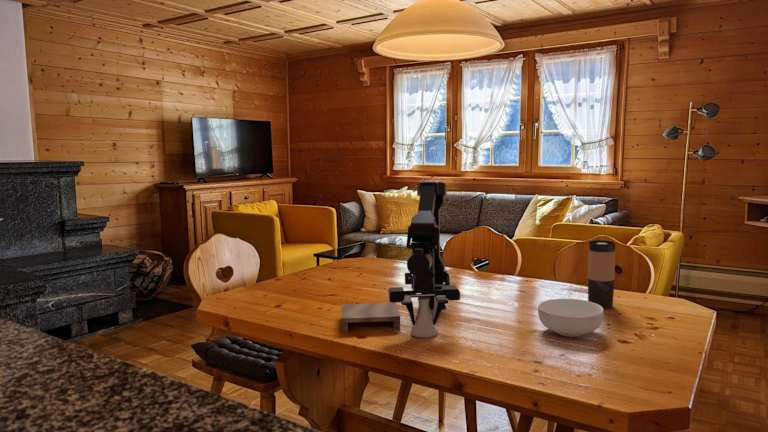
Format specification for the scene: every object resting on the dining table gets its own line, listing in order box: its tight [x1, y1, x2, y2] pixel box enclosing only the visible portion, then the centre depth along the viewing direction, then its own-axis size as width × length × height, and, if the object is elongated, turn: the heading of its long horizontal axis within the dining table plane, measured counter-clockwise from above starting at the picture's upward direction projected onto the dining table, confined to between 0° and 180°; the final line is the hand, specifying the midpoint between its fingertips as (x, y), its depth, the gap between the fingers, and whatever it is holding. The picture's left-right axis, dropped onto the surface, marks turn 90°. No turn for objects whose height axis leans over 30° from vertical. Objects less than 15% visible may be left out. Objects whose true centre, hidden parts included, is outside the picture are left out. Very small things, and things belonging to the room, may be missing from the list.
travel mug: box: [587, 239, 616, 310], centre depth 176 cm, size 8×8×20 cm
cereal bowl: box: [537, 298, 605, 338], centre depth 153 cm, size 17×17×7 cm
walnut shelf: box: [341, 302, 401, 334], centre depth 163 cm, size 16×14×4 cm
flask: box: [410, 297, 439, 339], centre depth 153 cm, size 7×7×10 cm
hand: (423, 324), depth 153 cm, fingers closed on flask, 5 cm apart
